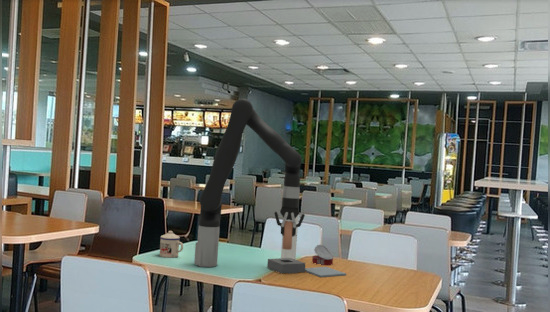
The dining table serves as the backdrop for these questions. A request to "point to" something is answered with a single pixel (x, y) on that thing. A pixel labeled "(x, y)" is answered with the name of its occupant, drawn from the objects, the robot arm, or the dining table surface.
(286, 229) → the plug
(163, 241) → the teacup with lid
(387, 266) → the dining table surface
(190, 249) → the dining table surface
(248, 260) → the dining table surface
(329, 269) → the mat
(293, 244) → the cylindrical container
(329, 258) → the canned food
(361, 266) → the dining table surface
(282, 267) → the gray square hole block
